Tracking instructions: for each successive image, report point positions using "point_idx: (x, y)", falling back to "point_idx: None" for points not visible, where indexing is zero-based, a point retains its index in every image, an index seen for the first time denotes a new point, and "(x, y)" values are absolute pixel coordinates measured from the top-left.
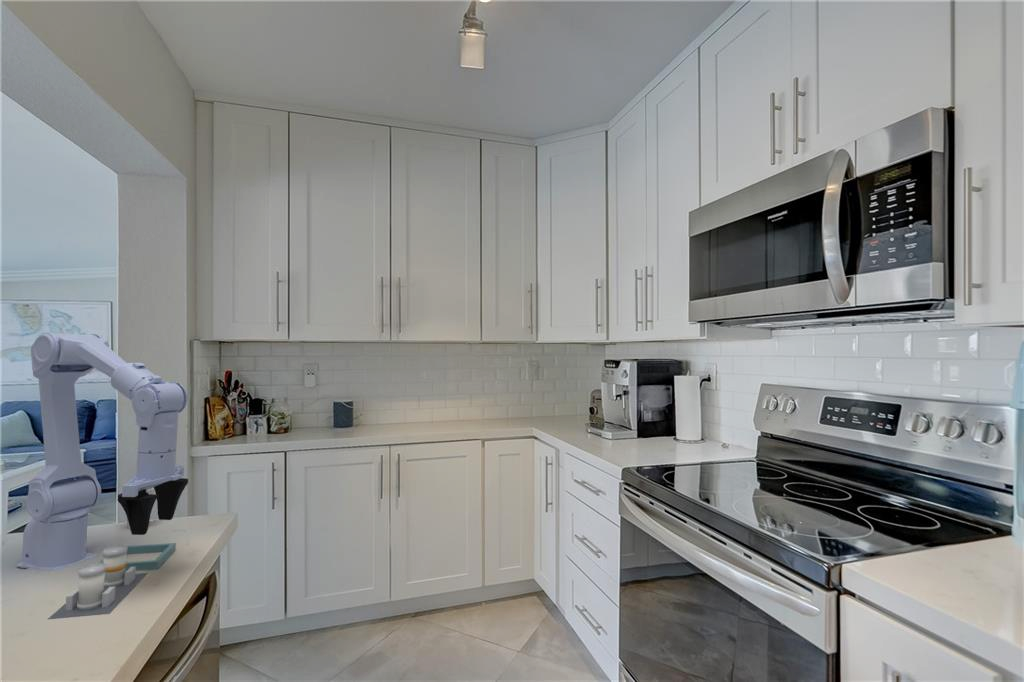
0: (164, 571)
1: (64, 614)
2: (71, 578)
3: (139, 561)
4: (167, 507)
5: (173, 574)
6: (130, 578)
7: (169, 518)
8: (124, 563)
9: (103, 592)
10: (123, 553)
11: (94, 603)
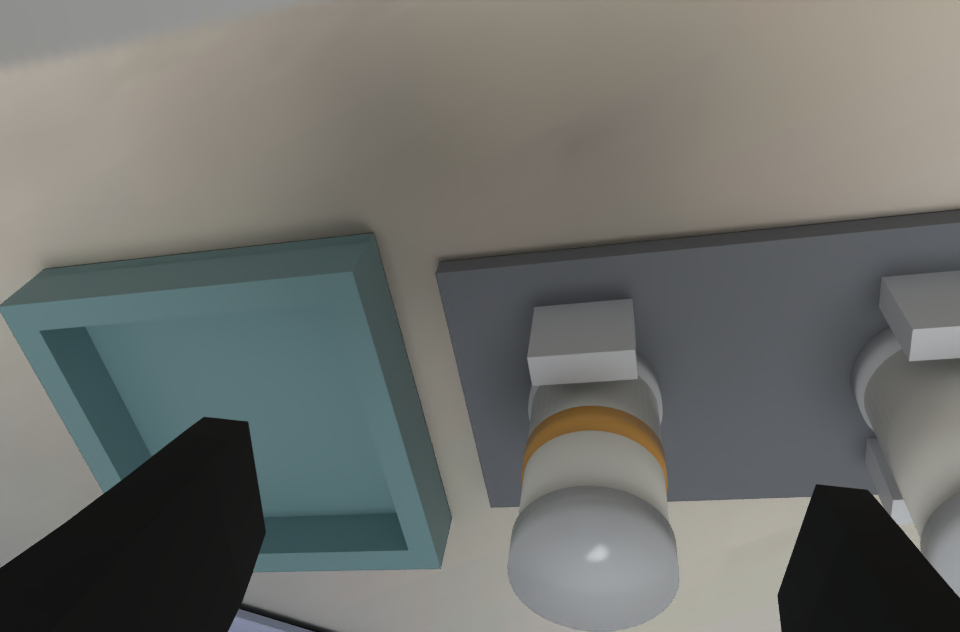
0: (351, 194)
1: None
2: (468, 591)
3: (360, 385)
4: (166, 603)
5: (399, 104)
6: (617, 321)
7: (240, 445)
8: (601, 431)
9: (952, 362)
10: (623, 497)
11: None
